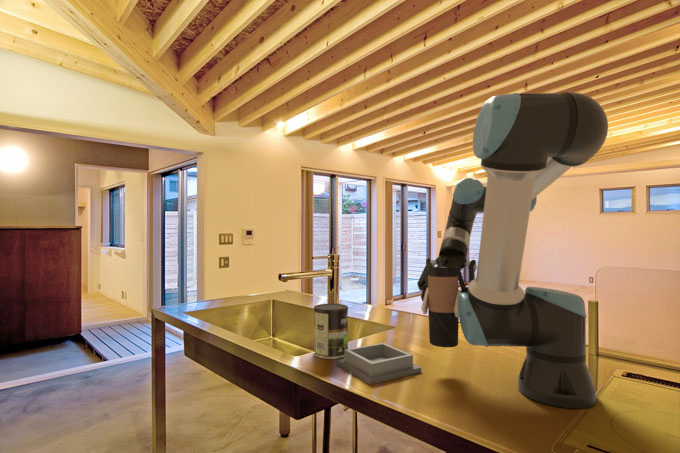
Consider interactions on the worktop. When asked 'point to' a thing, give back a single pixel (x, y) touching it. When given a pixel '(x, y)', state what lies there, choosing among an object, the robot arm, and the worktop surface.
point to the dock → (378, 363)
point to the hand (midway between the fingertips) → (439, 312)
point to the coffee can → (330, 330)
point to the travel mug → (442, 305)
